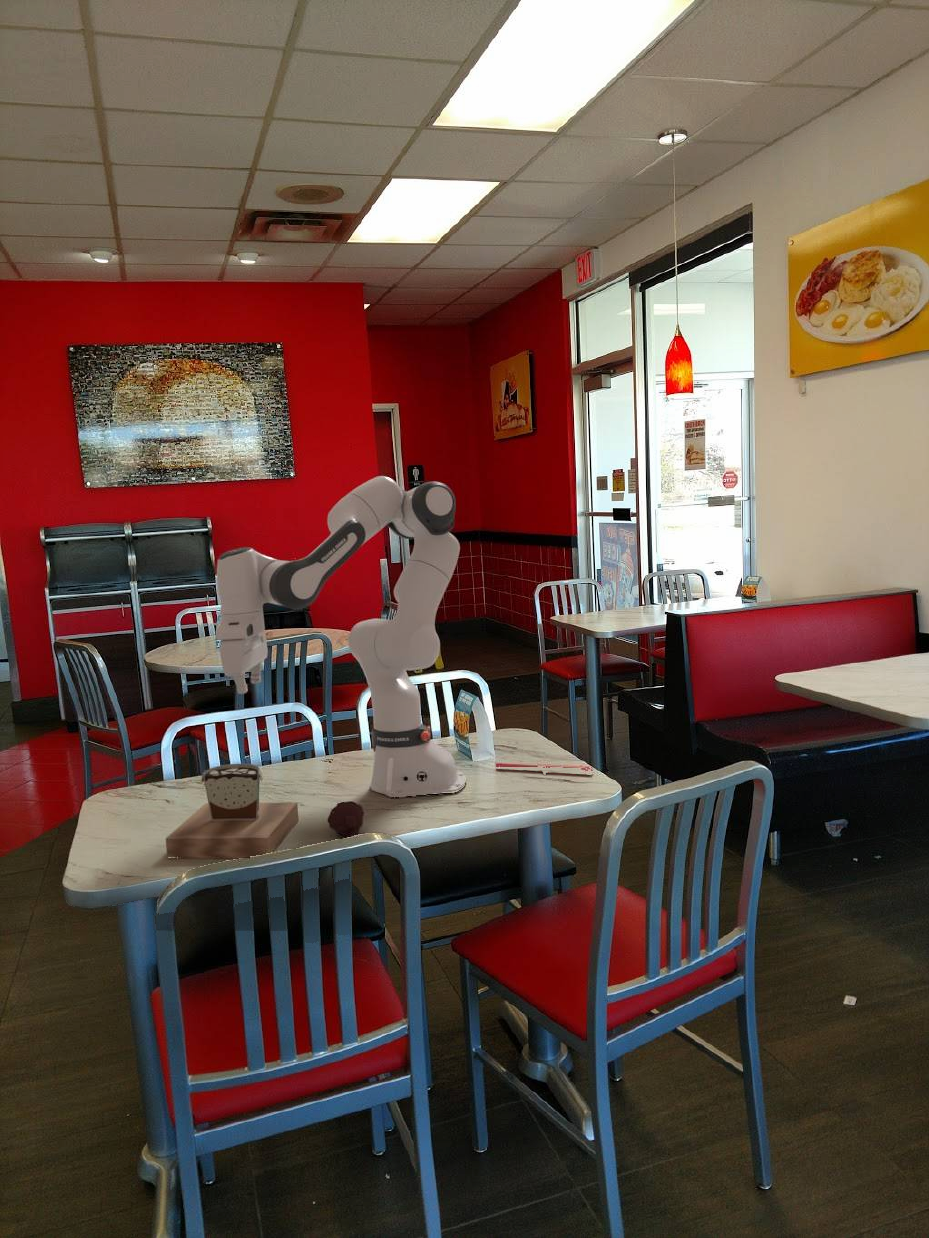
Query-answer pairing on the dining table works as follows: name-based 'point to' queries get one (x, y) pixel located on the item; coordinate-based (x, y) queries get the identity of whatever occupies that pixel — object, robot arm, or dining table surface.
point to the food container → (233, 791)
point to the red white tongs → (538, 765)
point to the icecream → (346, 818)
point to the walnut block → (232, 833)
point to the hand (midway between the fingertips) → (249, 687)
